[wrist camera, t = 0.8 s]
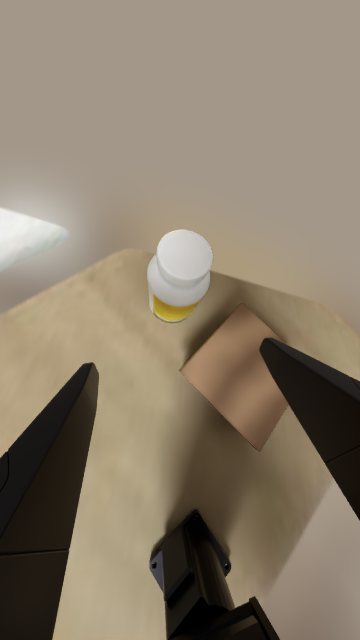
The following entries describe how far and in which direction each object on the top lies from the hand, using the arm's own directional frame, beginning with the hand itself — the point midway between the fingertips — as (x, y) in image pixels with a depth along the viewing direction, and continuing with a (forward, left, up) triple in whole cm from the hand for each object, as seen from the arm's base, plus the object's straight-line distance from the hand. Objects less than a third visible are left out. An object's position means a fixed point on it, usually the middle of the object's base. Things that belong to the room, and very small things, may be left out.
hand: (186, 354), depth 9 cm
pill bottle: (+6, -5, -14) cm, 17 cm away
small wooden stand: (-7, -7, -14) cm, 17 cm away
